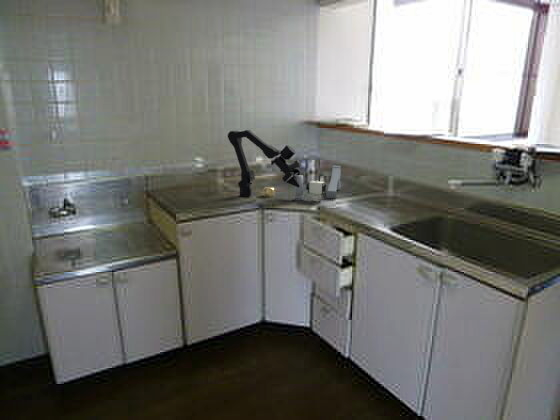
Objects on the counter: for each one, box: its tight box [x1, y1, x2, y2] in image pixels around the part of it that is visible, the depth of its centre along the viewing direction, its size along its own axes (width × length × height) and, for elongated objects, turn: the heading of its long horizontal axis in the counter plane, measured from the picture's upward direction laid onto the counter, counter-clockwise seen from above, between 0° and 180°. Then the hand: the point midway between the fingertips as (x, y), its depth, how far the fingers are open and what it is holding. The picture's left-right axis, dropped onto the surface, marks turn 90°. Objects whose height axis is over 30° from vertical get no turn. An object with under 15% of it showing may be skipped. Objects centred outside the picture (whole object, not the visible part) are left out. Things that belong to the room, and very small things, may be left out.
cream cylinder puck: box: [263, 186, 275, 198], centre depth 231 cm, size 6×6×5 cm
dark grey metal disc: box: [293, 197, 306, 202], centre depth 222 cm, size 7×7×1 cm
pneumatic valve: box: [305, 179, 329, 202], centre depth 218 cm, size 6×12×12 cm, turn 62°
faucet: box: [325, 165, 342, 199], centre depth 239 cm, size 6×17×30 cm
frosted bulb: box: [293, 174, 305, 199], centre depth 220 cm, size 5×5×13 cm
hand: (301, 185), depth 219 cm, fingers open, 9 cm apart
